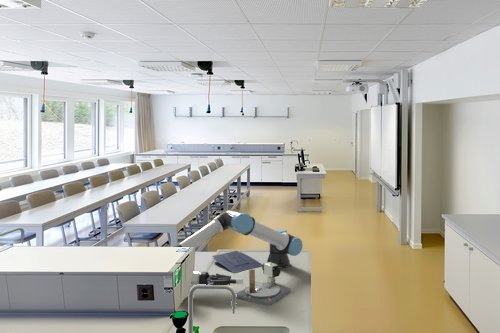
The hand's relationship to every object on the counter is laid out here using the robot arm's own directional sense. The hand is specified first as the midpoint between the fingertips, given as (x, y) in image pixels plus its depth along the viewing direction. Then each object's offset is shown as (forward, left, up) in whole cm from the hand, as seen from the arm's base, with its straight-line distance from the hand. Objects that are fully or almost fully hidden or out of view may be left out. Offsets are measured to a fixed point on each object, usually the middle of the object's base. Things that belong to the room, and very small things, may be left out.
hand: (242, 281), depth 233 cm
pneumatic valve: (-29, +1, -10) cm, 31 cm away
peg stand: (-10, +6, -8) cm, 14 cm away
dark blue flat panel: (-48, -37, -10) cm, 61 cm away
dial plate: (-10, +6, -9) cm, 15 cm away
